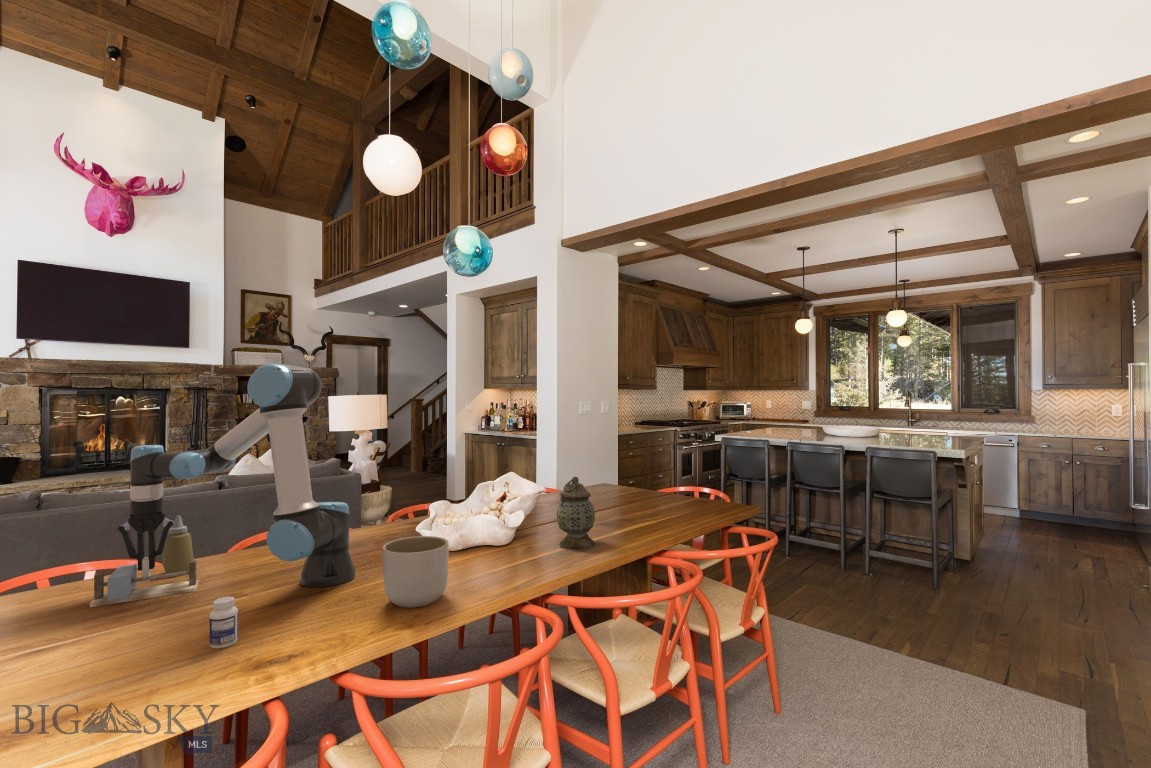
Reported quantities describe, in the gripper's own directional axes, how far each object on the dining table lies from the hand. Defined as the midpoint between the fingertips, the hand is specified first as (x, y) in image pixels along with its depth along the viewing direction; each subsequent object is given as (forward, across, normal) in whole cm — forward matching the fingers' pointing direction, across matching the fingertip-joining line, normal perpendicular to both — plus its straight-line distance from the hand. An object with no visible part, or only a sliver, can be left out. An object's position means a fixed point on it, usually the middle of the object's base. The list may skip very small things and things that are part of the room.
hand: (146, 580), depth 156 cm
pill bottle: (+3, -23, +52) cm, 57 cm away
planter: (+3, -66, +49) cm, 82 cm away
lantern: (+2, -129, +24) cm, 131 cm away
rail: (+3, -1, +5) cm, 5 cm away
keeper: (+1, +4, +5) cm, 7 cm away
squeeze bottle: (+3, -6, -14) cm, 15 cm away
